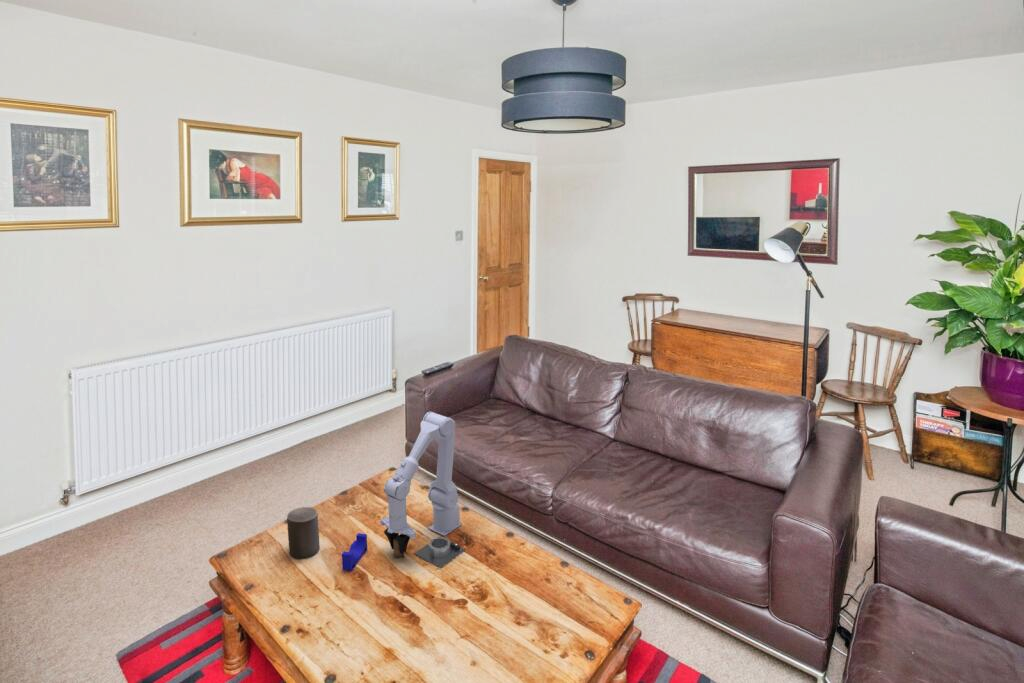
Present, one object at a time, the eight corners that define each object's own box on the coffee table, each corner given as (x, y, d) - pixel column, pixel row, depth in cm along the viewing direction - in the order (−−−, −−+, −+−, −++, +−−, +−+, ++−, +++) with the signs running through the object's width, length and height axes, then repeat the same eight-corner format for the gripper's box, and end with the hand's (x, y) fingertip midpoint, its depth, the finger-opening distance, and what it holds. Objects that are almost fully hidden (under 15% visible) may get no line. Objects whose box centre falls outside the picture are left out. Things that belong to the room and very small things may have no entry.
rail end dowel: (399, 550, 198) (398, 534, 197) (406, 554, 196) (406, 538, 195) (391, 555, 196) (390, 539, 194) (398, 559, 194) (398, 543, 192)
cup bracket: (438, 538, 206) (438, 529, 205) (464, 550, 199) (464, 541, 198) (414, 554, 196) (413, 545, 195) (441, 568, 190) (440, 558, 189)
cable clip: (355, 548, 200) (354, 532, 198) (367, 550, 199) (366, 534, 197) (338, 569, 188) (337, 553, 187) (351, 571, 187) (350, 555, 186)
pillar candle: (291, 562, 191) (288, 521, 188) (287, 546, 200) (284, 506, 196) (322, 554, 196) (320, 514, 192) (317, 539, 204) (314, 500, 200)
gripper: (373, 511, 193) (374, 548, 196) (404, 526, 185) (405, 564, 188) (389, 502, 199) (390, 538, 202) (420, 516, 191) (421, 553, 194)
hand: (398, 550), depth 196 cm, fingers closed on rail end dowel, 3 cm apart
